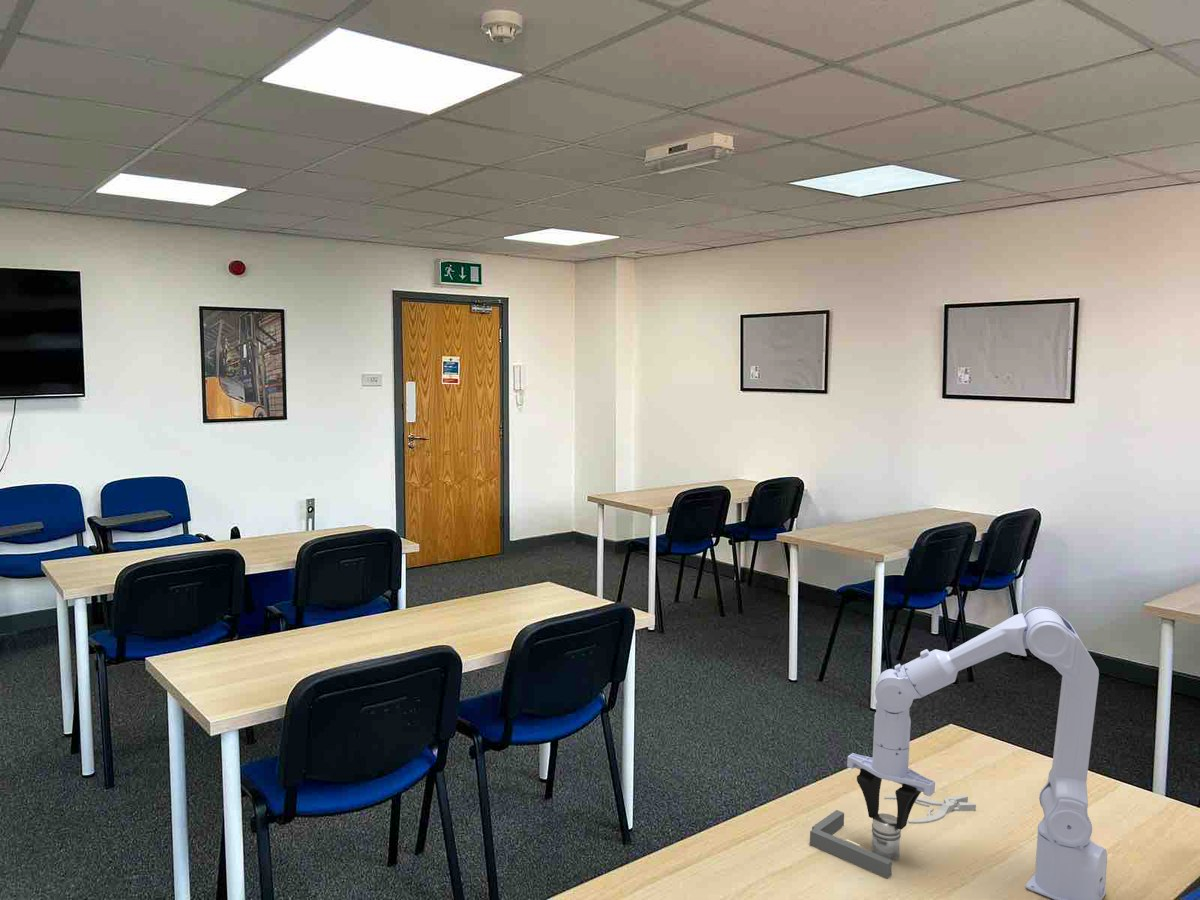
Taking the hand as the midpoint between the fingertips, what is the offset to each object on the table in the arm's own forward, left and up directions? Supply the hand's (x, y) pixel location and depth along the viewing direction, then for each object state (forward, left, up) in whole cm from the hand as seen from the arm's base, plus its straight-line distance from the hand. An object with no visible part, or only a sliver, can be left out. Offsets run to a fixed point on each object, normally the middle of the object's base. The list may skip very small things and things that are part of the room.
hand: (887, 821), depth 143 cm
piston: (0, 0, -6) cm, 6 cm away
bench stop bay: (+4, +2, -6) cm, 7 cm away
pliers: (+1, -21, -6) cm, 22 cm away
